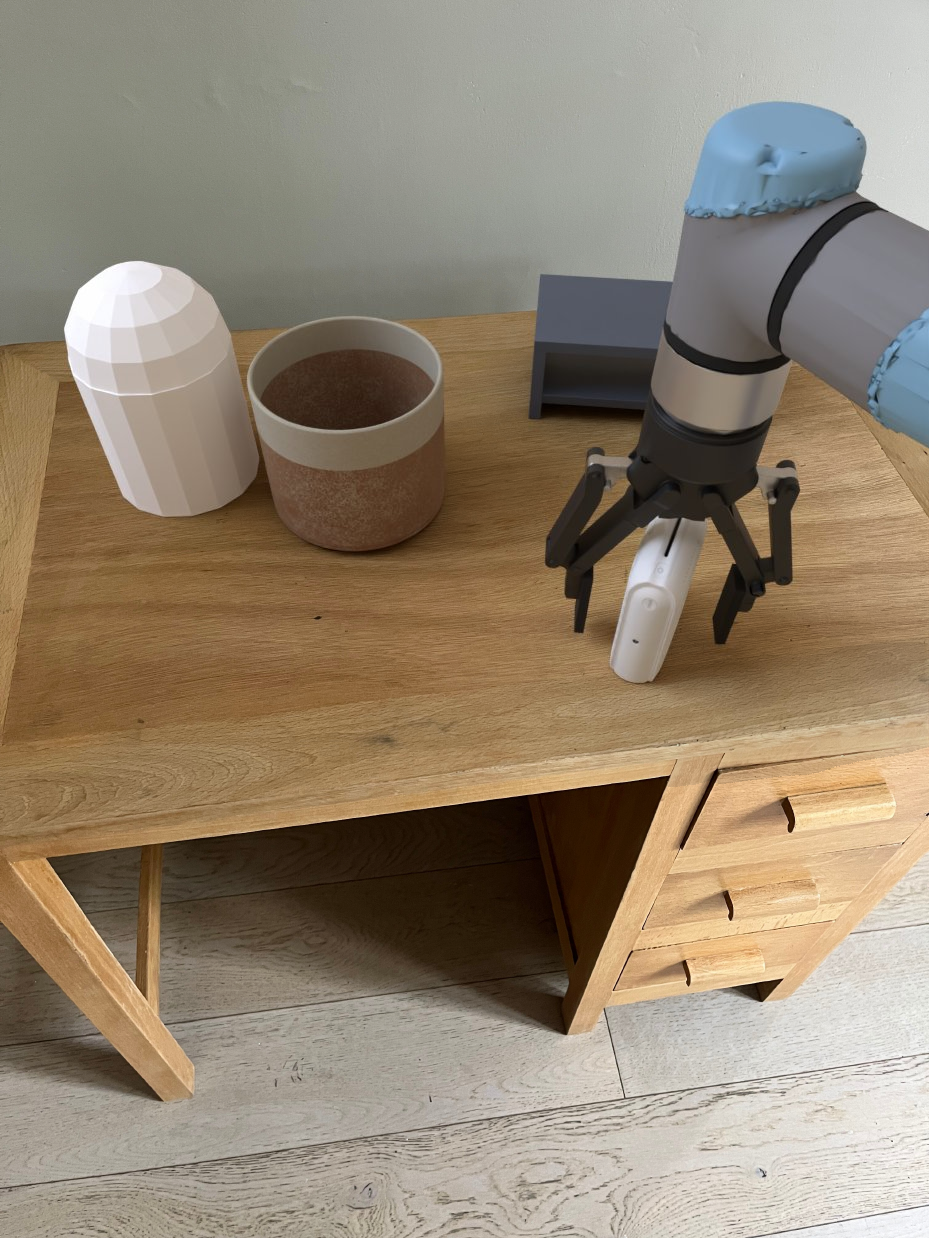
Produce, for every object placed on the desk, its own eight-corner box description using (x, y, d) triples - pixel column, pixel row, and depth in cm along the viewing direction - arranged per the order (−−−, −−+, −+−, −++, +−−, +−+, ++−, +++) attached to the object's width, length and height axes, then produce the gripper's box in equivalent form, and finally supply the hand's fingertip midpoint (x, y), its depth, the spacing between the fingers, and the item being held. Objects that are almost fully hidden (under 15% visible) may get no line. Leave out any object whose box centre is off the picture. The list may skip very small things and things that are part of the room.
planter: (266, 454, 84) (237, 329, 73) (424, 429, 86) (419, 304, 75) (286, 571, 74) (257, 447, 63) (463, 539, 77) (464, 414, 66)
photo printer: (654, 693, 66) (688, 588, 57) (601, 674, 67) (625, 569, 58) (686, 599, 72) (722, 491, 63) (637, 584, 73) (664, 475, 64)
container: (118, 434, 85) (43, 239, 70) (254, 415, 87) (210, 221, 72) (116, 527, 77) (30, 330, 62) (266, 504, 79) (219, 308, 64)
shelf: (717, 361, 94) (737, 285, 87) (726, 431, 86) (750, 354, 79) (534, 350, 95) (540, 273, 88) (528, 418, 87) (534, 340, 80)
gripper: (893, 373, 53) (787, 601, 70) (525, 349, 55) (508, 579, 72) (922, 452, 49) (800, 675, 66) (517, 424, 50) (502, 650, 67)
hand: (648, 625), depth 69 cm, fingers open, 10 cm apart
